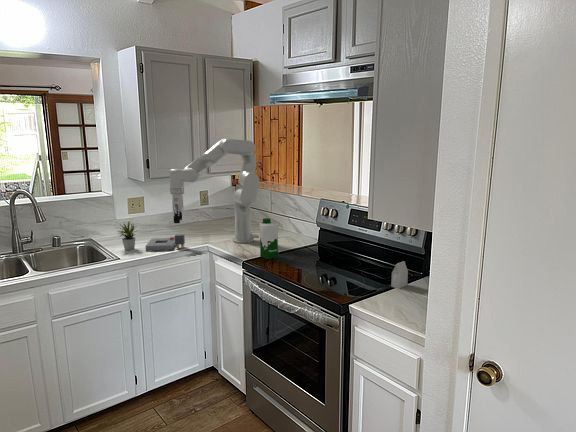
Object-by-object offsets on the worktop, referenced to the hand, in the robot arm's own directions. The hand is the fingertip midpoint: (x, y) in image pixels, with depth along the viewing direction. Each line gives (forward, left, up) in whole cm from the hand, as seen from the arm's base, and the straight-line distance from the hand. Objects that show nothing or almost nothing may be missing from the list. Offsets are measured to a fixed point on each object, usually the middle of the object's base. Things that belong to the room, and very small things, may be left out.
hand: (178, 221), depth 242 cm
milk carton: (-49, +26, -16) cm, 58 cm away
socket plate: (+11, -4, -15) cm, 19 cm away
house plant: (+29, -2, -16) cm, 33 cm away
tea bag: (-100, +77, -16) cm, 127 cm away
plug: (0, 0, -15) cm, 15 cm away
